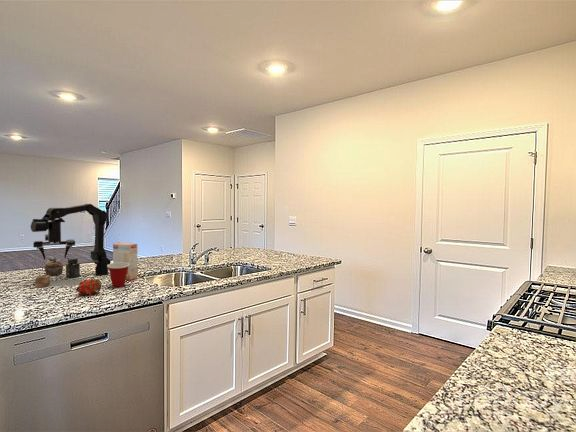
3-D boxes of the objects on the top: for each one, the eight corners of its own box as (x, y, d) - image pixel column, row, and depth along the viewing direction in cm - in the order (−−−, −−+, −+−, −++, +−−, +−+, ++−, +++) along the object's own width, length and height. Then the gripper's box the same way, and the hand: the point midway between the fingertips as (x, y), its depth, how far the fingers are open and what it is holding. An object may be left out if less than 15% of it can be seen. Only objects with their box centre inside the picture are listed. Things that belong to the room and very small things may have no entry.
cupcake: (66, 274, 207) (66, 258, 206) (48, 277, 199) (48, 260, 198) (59, 272, 212) (59, 256, 211) (41, 275, 204) (41, 258, 203)
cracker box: (138, 278, 199) (137, 243, 198) (129, 280, 194) (129, 244, 193) (121, 276, 205) (121, 242, 204) (112, 278, 200) (112, 243, 198)
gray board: (84, 281, 191) (84, 278, 191) (79, 287, 178) (79, 284, 178) (42, 283, 184) (42, 281, 184) (34, 290, 171) (33, 287, 171)
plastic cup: (107, 289, 174) (106, 266, 174) (107, 284, 184) (107, 263, 183) (130, 287, 179) (129, 265, 179) (129, 282, 189) (129, 261, 188)
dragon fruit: (104, 295, 170) (78, 303, 161) (97, 283, 174) (71, 291, 165) (106, 284, 166) (79, 292, 157) (98, 272, 169) (72, 279, 160)
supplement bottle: (63, 279, 193) (62, 259, 193) (74, 277, 200) (74, 257, 199) (71, 281, 191) (71, 260, 190) (82, 278, 197) (82, 258, 197)
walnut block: (49, 284, 178) (49, 275, 178) (47, 286, 173) (46, 277, 173) (38, 285, 176) (38, 275, 176) (35, 287, 172) (35, 277, 171)
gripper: (73, 228, 197) (73, 255, 197) (33, 230, 186) (34, 258, 186) (75, 230, 188) (75, 258, 188) (33, 231, 177) (33, 261, 177)
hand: (55, 258), depth 185 cm, fingers open, 9 cm apart
